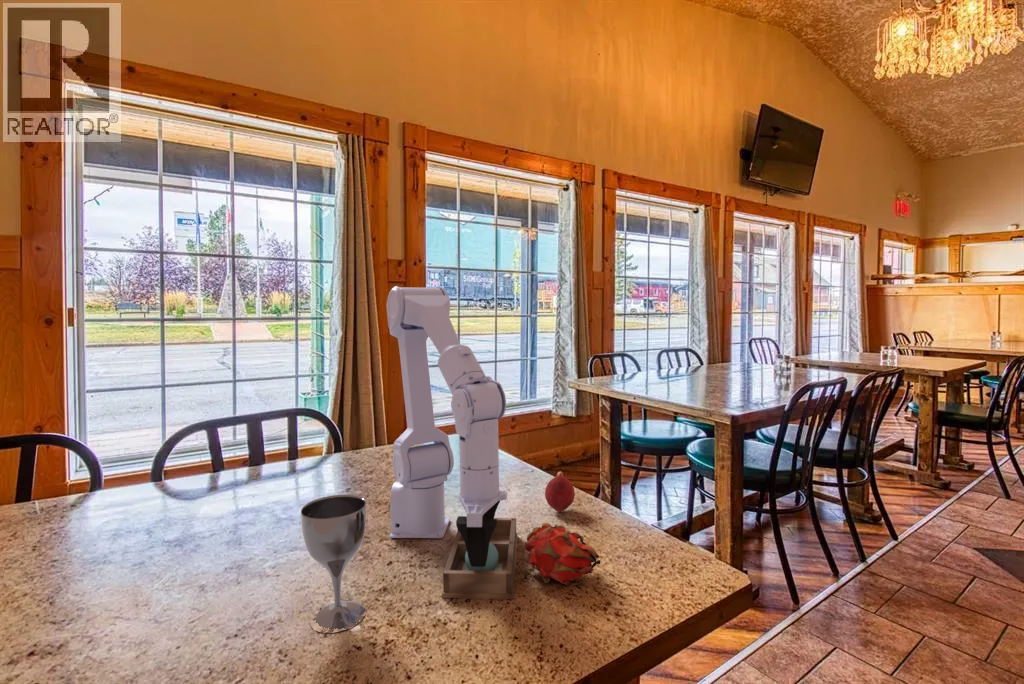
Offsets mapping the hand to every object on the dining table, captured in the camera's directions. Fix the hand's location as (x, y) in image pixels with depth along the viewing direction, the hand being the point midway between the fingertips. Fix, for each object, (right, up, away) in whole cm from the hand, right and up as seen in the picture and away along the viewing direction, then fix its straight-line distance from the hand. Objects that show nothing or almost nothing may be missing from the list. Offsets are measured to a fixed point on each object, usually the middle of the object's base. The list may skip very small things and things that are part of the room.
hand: (480, 553), depth 75 cm
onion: (+14, -2, +24) cm, 28 cm away
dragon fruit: (+12, -4, +1) cm, 13 cm away
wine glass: (-18, -5, -8) cm, 21 cm away
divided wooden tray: (0, -4, +5) cm, 6 cm away
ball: (0, -1, 0) cm, 1 cm away
